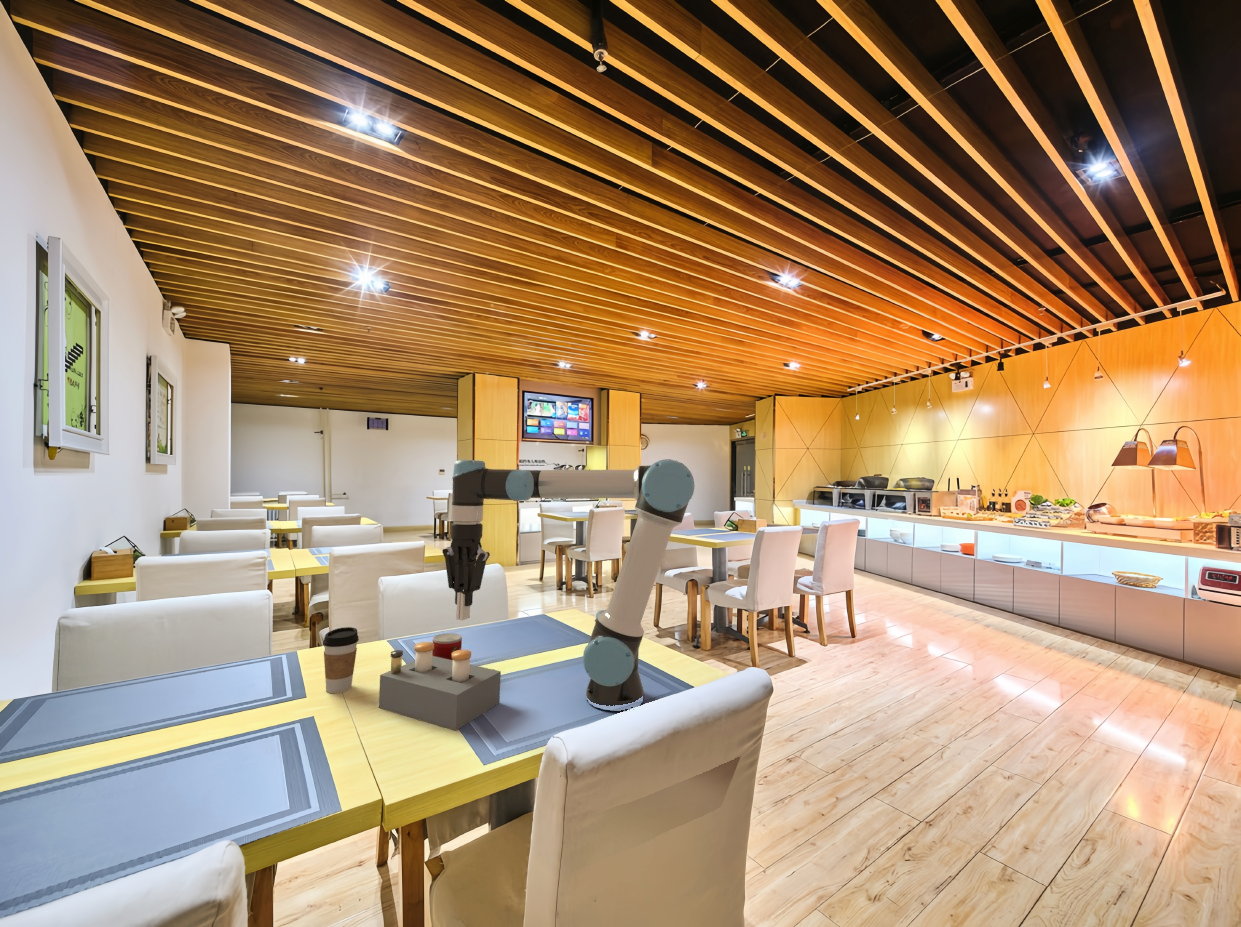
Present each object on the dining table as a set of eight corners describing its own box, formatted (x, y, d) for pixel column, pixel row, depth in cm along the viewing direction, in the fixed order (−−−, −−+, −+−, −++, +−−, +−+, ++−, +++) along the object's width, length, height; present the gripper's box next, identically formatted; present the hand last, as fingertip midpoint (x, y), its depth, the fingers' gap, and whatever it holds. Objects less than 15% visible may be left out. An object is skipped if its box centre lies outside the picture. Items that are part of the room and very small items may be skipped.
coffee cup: (363, 683, 140) (365, 627, 140) (343, 696, 131) (346, 637, 132) (334, 681, 140) (336, 626, 141) (312, 694, 132) (315, 635, 132)
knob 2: (473, 684, 127) (475, 651, 127) (461, 691, 123) (462, 657, 123) (459, 680, 129) (460, 648, 129) (446, 687, 125) (447, 654, 125)
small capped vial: (404, 671, 129) (405, 651, 129) (395, 675, 126) (396, 654, 126) (396, 669, 130) (397, 649, 130) (387, 673, 127) (388, 652, 127)
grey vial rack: (499, 703, 131) (500, 671, 131) (455, 730, 116) (457, 695, 116) (427, 684, 140) (428, 655, 141) (378, 707, 126) (380, 674, 126)
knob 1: (436, 675, 132) (437, 643, 132) (423, 681, 128) (424, 649, 128) (423, 671, 134) (424, 640, 134) (409, 678, 130) (410, 646, 130)
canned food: (455, 681, 143) (456, 641, 143) (426, 680, 143) (428, 640, 143) (464, 671, 151) (465, 633, 151) (436, 670, 151) (438, 632, 151)
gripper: (498, 523, 128) (494, 618, 127) (456, 519, 133) (452, 611, 132) (478, 525, 121) (474, 626, 120) (435, 521, 126) (430, 618, 126)
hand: (462, 618), depth 126 cm, fingers closed
